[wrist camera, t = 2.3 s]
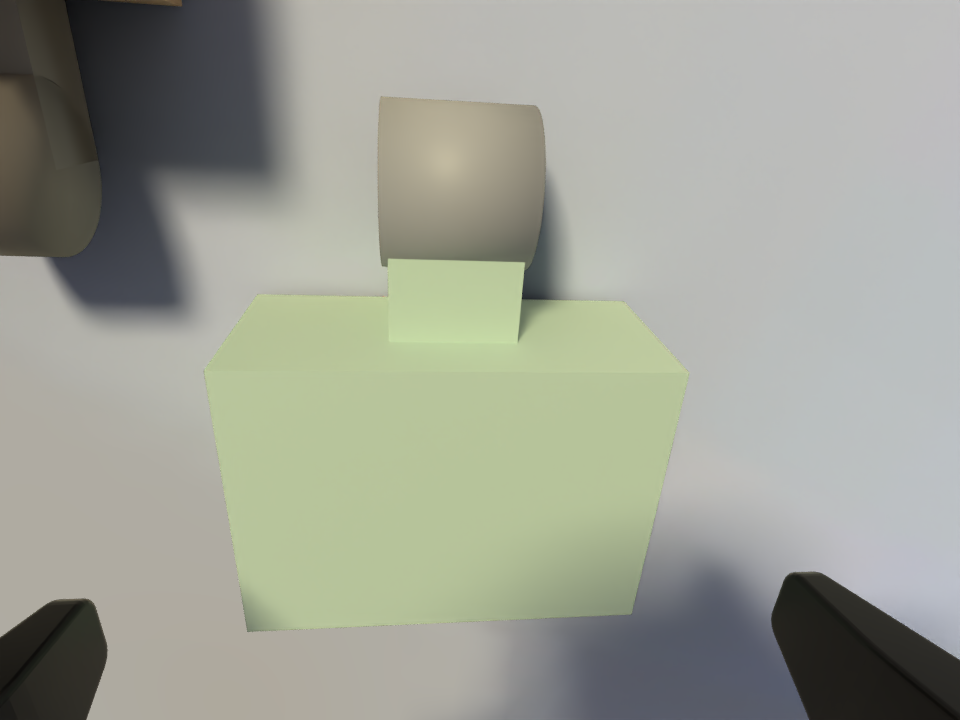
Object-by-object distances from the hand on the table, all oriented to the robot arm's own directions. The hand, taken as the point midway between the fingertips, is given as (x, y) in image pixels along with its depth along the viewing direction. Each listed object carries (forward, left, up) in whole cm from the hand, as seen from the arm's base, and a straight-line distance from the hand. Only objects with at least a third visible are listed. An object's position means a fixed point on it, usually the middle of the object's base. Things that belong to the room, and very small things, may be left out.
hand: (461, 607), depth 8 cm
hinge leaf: (0, -2, -5) cm, 5 cm away
